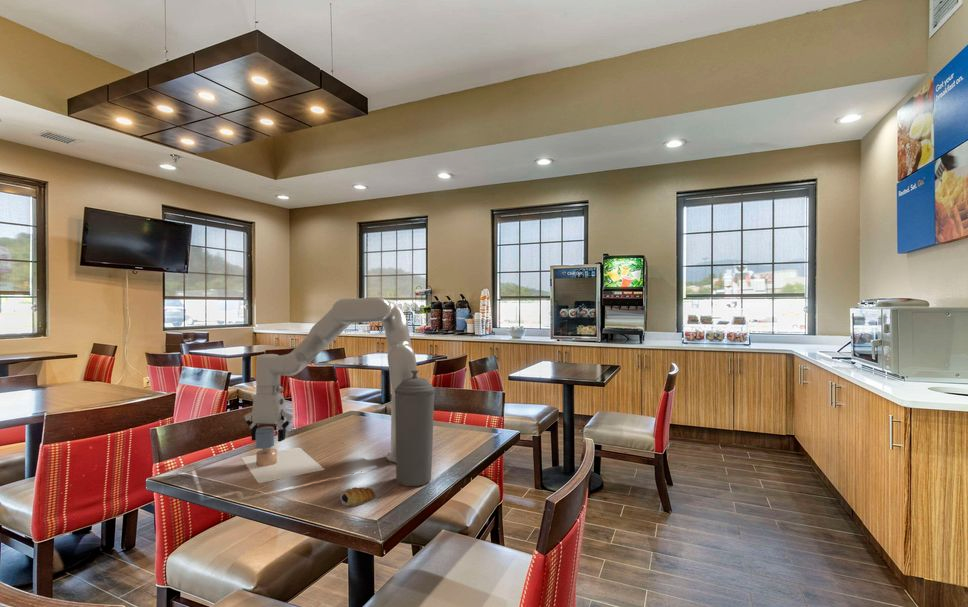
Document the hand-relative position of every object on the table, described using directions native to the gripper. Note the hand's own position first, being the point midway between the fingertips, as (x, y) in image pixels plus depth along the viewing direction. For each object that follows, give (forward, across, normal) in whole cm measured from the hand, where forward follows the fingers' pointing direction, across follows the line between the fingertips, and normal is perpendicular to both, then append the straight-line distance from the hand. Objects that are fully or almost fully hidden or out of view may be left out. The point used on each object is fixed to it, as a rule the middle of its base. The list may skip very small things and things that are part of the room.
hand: (268, 440), depth 152 cm
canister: (+10, -53, +6) cm, 54 cm away
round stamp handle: (+8, 0, 0) cm, 8 cm away
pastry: (+10, -41, +22) cm, 48 cm away
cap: (+2, +1, +1) cm, 2 cm away
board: (+9, -4, 0) cm, 10 cm away
